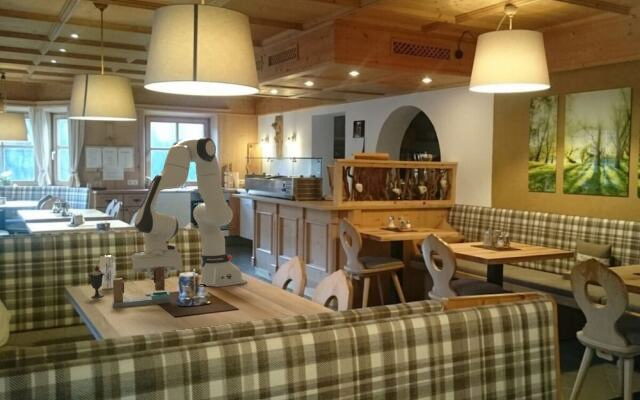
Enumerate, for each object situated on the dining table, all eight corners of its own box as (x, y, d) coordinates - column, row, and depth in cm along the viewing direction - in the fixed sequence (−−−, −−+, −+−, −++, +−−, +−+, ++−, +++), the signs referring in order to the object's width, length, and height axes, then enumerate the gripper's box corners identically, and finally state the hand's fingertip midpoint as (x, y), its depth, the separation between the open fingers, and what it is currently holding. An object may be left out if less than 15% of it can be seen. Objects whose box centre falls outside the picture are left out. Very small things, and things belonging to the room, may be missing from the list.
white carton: (112, 289, 270) (111, 257, 270) (98, 289, 270) (97, 257, 270) (118, 286, 277) (117, 255, 277) (103, 286, 277) (102, 255, 277)
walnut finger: (163, 288, 244) (163, 267, 243) (164, 290, 240) (164, 268, 240) (153, 289, 242) (153, 268, 242) (154, 290, 239) (154, 269, 239)
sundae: (98, 299, 249) (97, 264, 248) (85, 298, 251) (84, 263, 251) (108, 295, 255) (107, 262, 255) (96, 295, 258) (94, 261, 257)
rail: (168, 299, 246) (167, 273, 246) (170, 302, 240) (169, 276, 239) (112, 304, 238) (111, 277, 238) (113, 308, 232) (112, 280, 231)
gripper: (131, 248, 243) (133, 275, 235) (180, 246, 251) (184, 272, 242) (130, 258, 248) (132, 284, 239) (179, 255, 255) (183, 281, 246)
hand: (159, 278), depth 241 cm, fingers closed on walnut finger, 4 cm apart
